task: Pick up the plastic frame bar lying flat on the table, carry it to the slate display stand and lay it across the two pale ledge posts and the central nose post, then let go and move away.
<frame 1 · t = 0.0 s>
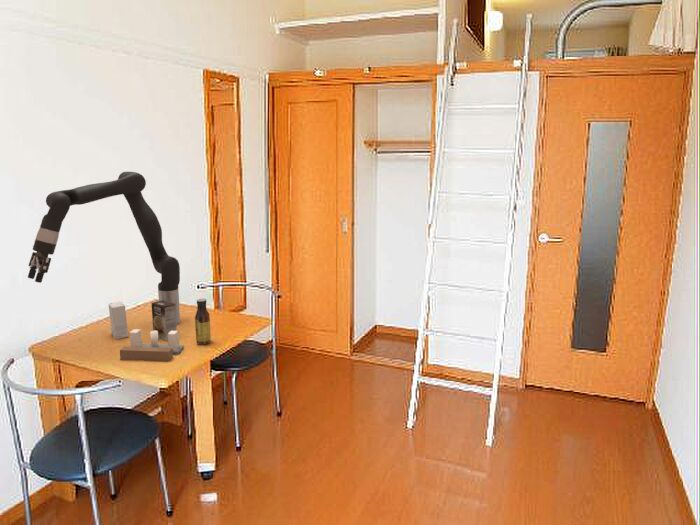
hand: (34, 280, 212), 31 cm above the table, tool tilted 20°, fingers open, 8 cm apart
frame bar: (146, 359, 217), on the table
skincare box: (119, 336, 242), on the table
sauce bottle: (203, 343, 235), on the table
display stand: (155, 350, 225), on the table
coffee box: (165, 337, 241), on the table
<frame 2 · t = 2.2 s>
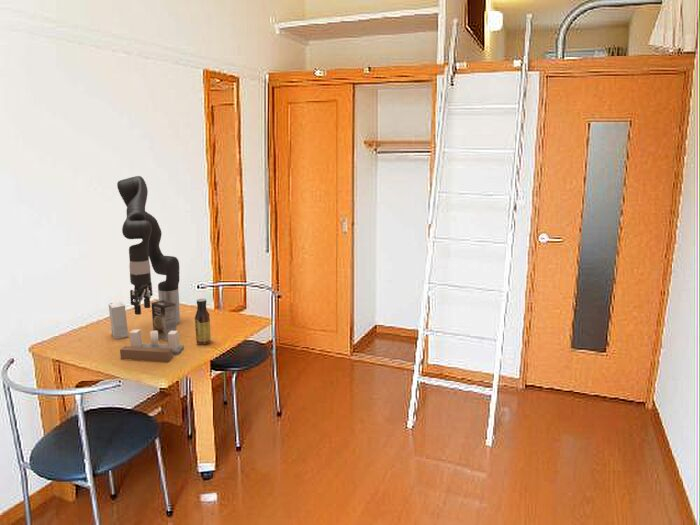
hand: (142, 311, 213), 20 cm above the table, tool pointing down, fingers open, 8 cm apart
nothing on the table moved.
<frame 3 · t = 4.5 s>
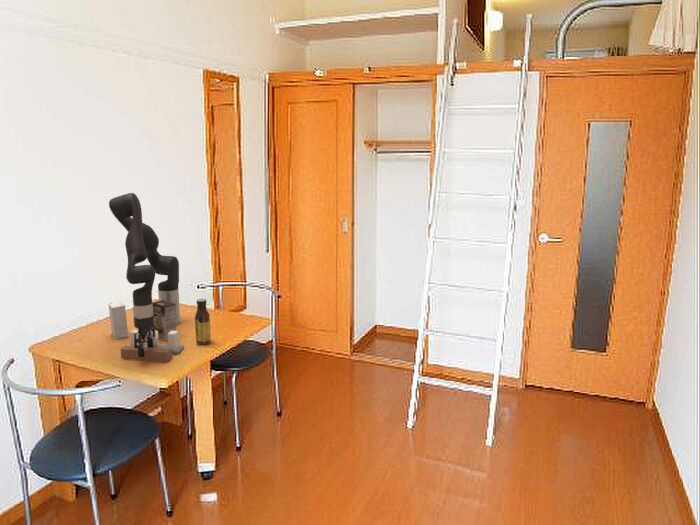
hand: (146, 352, 216), 3 cm above the table, tool pointing down, fingers open, 8 cm apart
nothing on the table moved.
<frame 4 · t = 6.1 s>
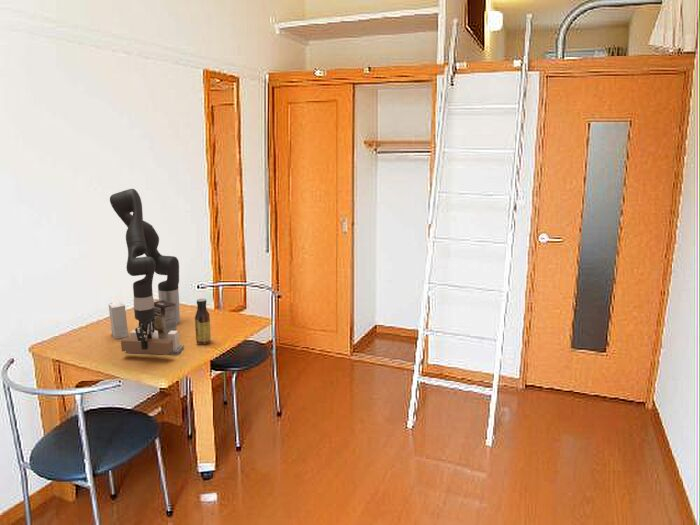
hand: (147, 346, 216), 5 cm above the table, tool pointing down, fingers closed on frame bar, 4 cm apart
frame bar: (147, 350, 217), point 3 cm above the table, touching gripper
everything else where it was.
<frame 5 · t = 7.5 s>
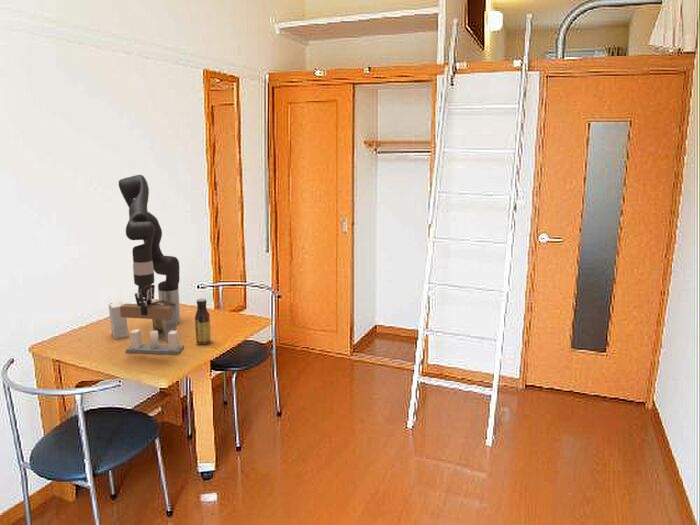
hand: (146, 312, 215), 19 cm above the table, tool pointing down, fingers closed on frame bar, 4 cm apart
frame bar: (147, 316, 216), point 17 cm above the table, touching gripper
everything else where it was.
when the fingers open (11 cm above the table, at t = 9.7 s): frame bar drops 1 cm, resting on display stand.
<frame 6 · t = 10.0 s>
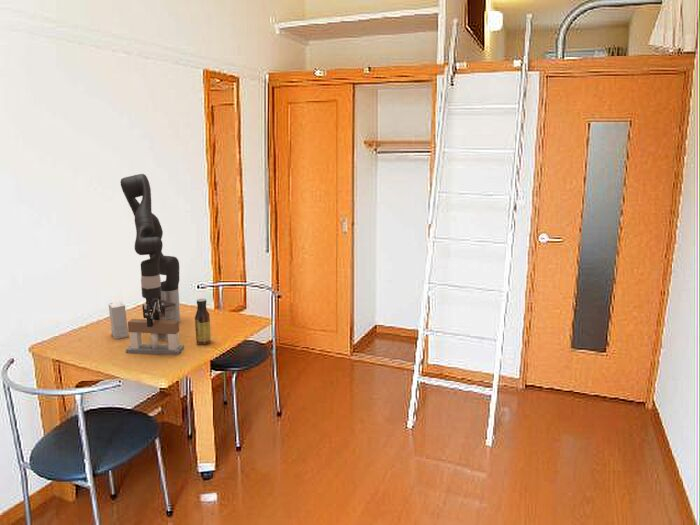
hand: (153, 323, 223), 12 cm above the table, tool pointing down, fingers open, 6 cm apart
frame bar: (154, 331, 224), point 8 cm above the table, touching display stand
everything else where it was.
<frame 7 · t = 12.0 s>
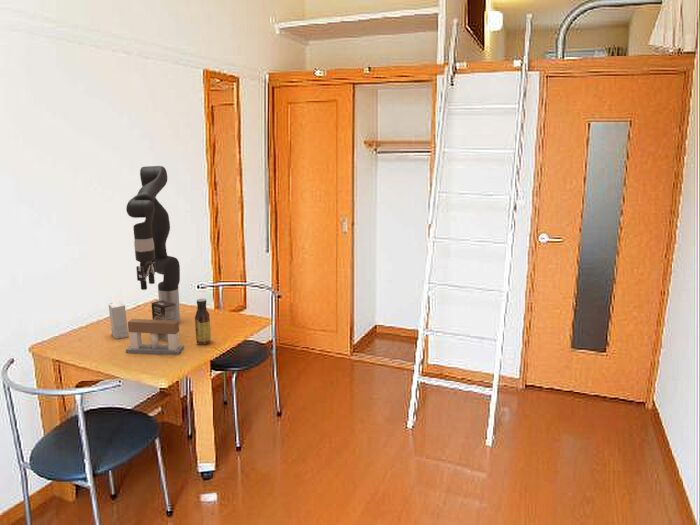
hand: (148, 286, 224), 27 cm above the table, tool pointing down, fingers open, 8 cm apart
nothing on the table moved.
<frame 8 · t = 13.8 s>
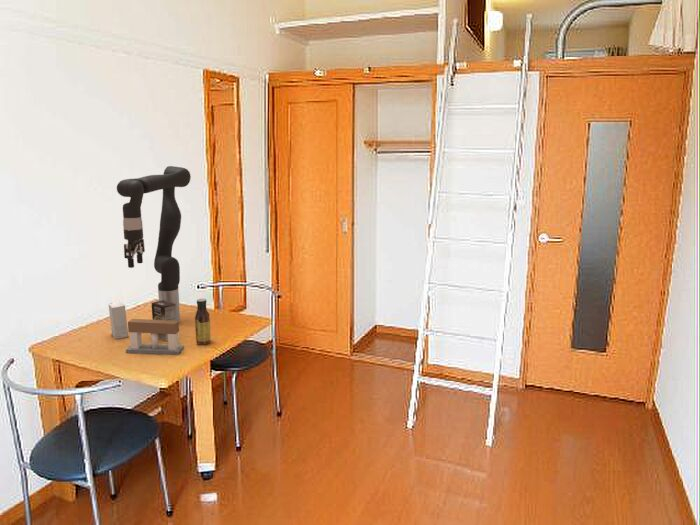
hand: (135, 265, 229), 34 cm above the table, tool pointing down, fingers open, 8 cm apart
nothing on the table moved.
at the end: frame bar 0.1 cm off-centre on the display stand, point 8.5 cm above the display stand's base; frame bar tilted 0°; the gripper is holding nothing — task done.
